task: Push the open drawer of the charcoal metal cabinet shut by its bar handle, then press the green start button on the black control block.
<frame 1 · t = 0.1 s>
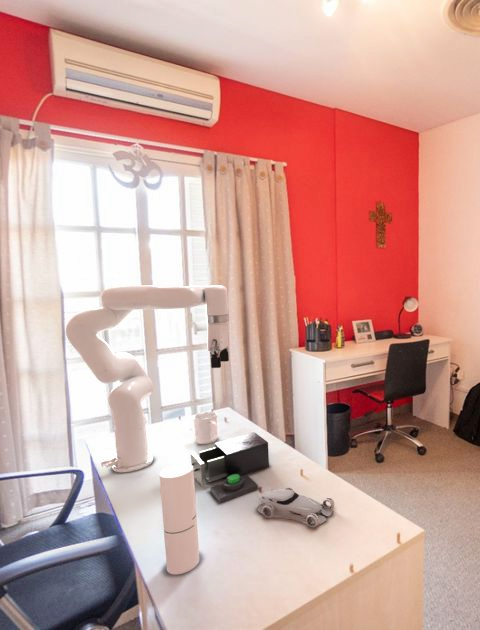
hand: (220, 364, 156), 37 cm above the table, tool pointing down, fingers open, 9 cm apart
drawer: (210, 464, 146), point 5 cm above the table, slide at 7.0 cm
start button: (233, 479, 138), point 4 cm above the table, slide at 0.1 cm
car model: (293, 511, 127), on the table
mug: (209, 442, 175), on the table
cylindrical container: (183, 564, 105), on the table
cabinet: (242, 467, 154), on the table
control block: (234, 490, 138), on the table
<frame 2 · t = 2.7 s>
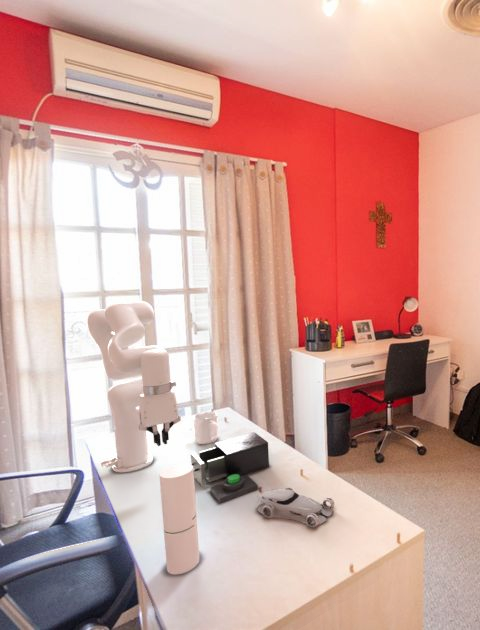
hand: (161, 443, 134), 17 cm above the table, tool pointing down, fingers closed
nothing on the table moved.
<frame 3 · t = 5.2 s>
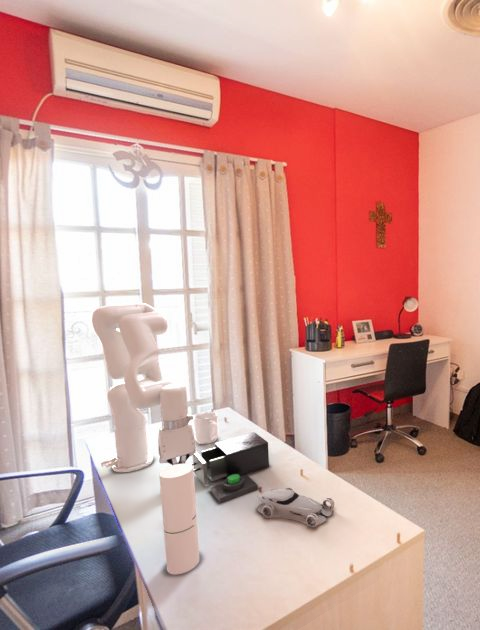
hand: (179, 474, 139), 5 cm above the table, tool pointing down, fingers closed
drawer: (212, 464, 146), point 5 cm above the table, slide at 6.3 cm, touching gripper
everything else where it was.
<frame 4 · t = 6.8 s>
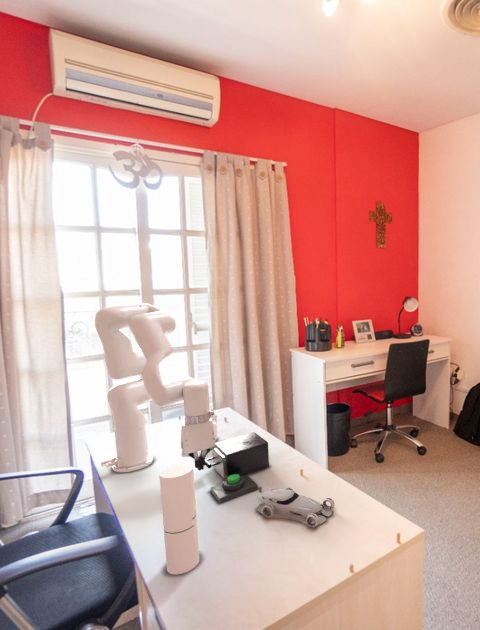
hand: (200, 468, 143), 5 cm above the table, tool pointing down, fingers closed
drawer: (231, 458, 150), point 5 cm above the table, slide at 0.0 cm, touching cabinet, gripper
everything else where it was.
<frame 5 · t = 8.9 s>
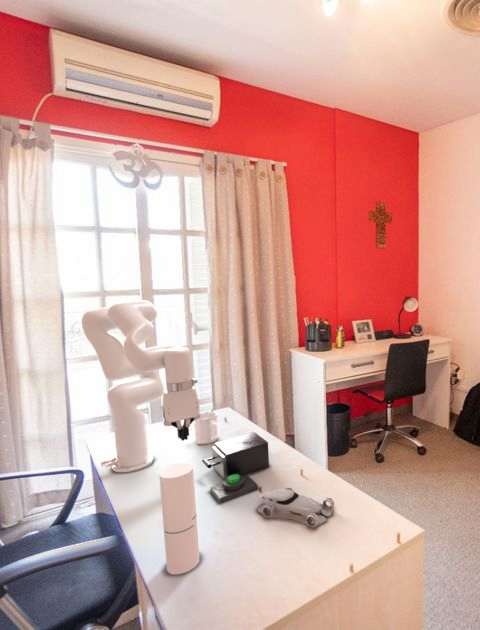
hand: (183, 438, 138), 17 cm above the table, tool pointing down, fingers closed
drawer: (231, 458, 150), point 5 cm above the table, slide at 0.0 cm, touching cabinet
everything else where it was.
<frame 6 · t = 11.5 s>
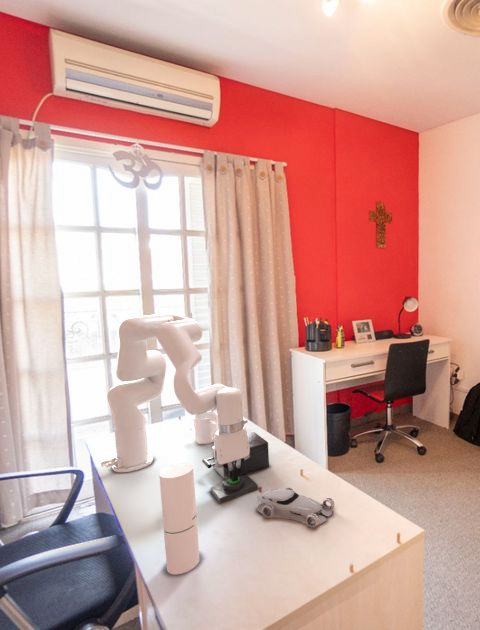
hand: (234, 479, 138), 4 cm above the table, tool pointing down, fingers closed
start button: (233, 481, 138), point 3 cm above the table, slide at -0.8 cm, touching gripper
everything else where it was.
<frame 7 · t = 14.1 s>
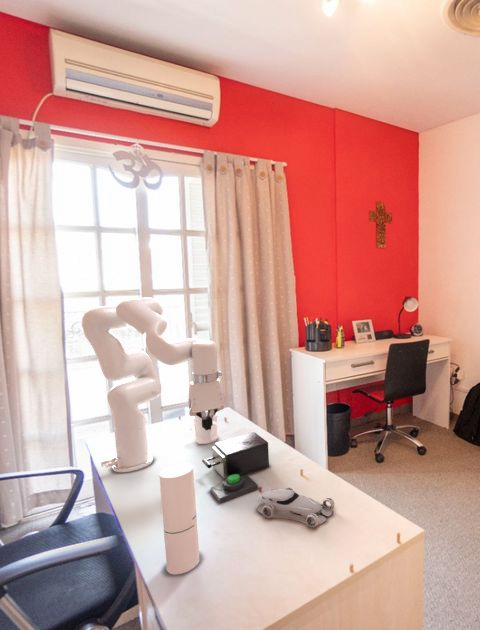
hand: (207, 428, 144), 18 cm above the table, tool pointing down, fingers closed
start button: (233, 479, 138), point 4 cm above the table, slide at 0.1 cm
everything else where it was.
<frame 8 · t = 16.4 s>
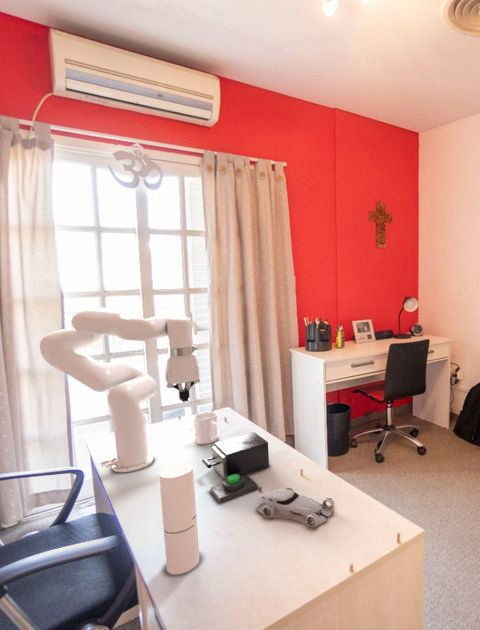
hand: (184, 400, 152), 25 cm above the table, tool pointing down, fingers closed
nothing on the table moved.
at the end: drawer slide at 0.0 cm; start button pushed in 1.1 cm at the most during the clip and back out by the end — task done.
